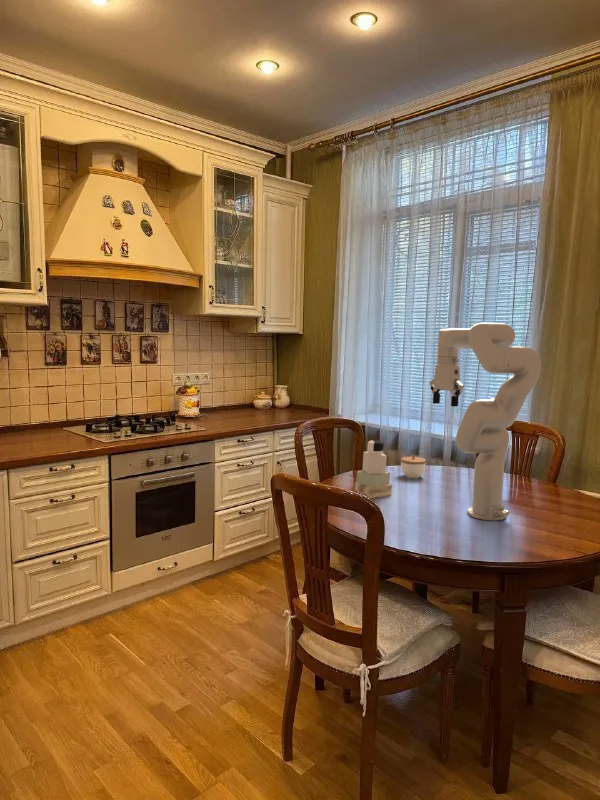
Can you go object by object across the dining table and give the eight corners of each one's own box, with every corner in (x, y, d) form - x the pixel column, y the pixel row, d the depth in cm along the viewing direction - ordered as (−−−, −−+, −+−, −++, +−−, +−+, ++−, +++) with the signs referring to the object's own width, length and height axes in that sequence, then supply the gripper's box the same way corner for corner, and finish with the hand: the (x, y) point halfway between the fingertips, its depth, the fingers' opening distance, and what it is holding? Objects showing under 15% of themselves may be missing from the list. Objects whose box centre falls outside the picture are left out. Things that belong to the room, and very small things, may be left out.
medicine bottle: (379, 469, 218) (381, 439, 216) (385, 474, 211) (387, 443, 209) (362, 469, 217) (364, 439, 215) (367, 474, 210) (369, 443, 208)
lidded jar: (409, 472, 250) (409, 451, 249) (429, 476, 242) (430, 455, 241) (395, 476, 242) (396, 455, 241) (416, 481, 235) (417, 459, 234)
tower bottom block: (391, 496, 213) (391, 485, 213) (370, 500, 208) (370, 488, 208) (375, 489, 222) (375, 478, 221) (354, 493, 217) (355, 481, 216)
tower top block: (389, 483, 215) (389, 472, 214) (375, 487, 208) (375, 476, 208) (370, 478, 221) (371, 467, 220) (356, 483, 214) (356, 471, 214)
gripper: (471, 362, 210) (468, 407, 212) (438, 359, 225) (436, 401, 227) (457, 362, 206) (454, 408, 208) (424, 360, 221) (422, 402, 223)
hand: (445, 404), depth 218 cm, fingers open, 9 cm apart
